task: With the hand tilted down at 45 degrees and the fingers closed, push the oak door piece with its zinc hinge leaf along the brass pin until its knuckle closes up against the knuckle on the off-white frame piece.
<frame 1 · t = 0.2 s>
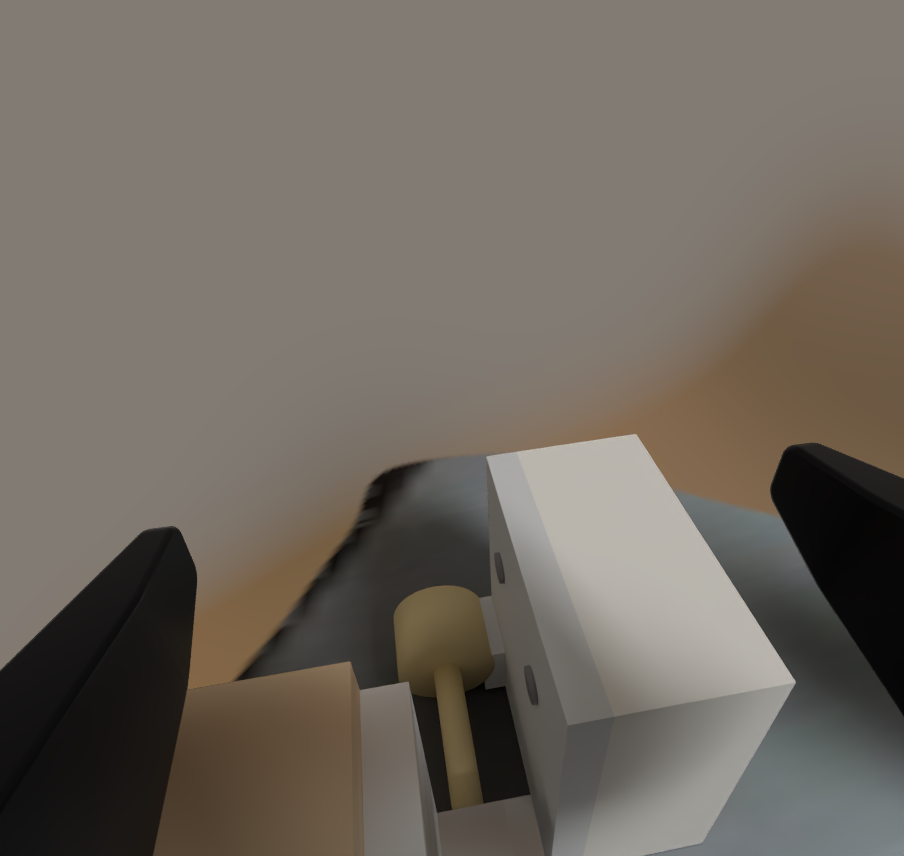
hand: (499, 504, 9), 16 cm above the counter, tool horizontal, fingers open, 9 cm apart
frame leaf: (474, 851, 19), on the counter
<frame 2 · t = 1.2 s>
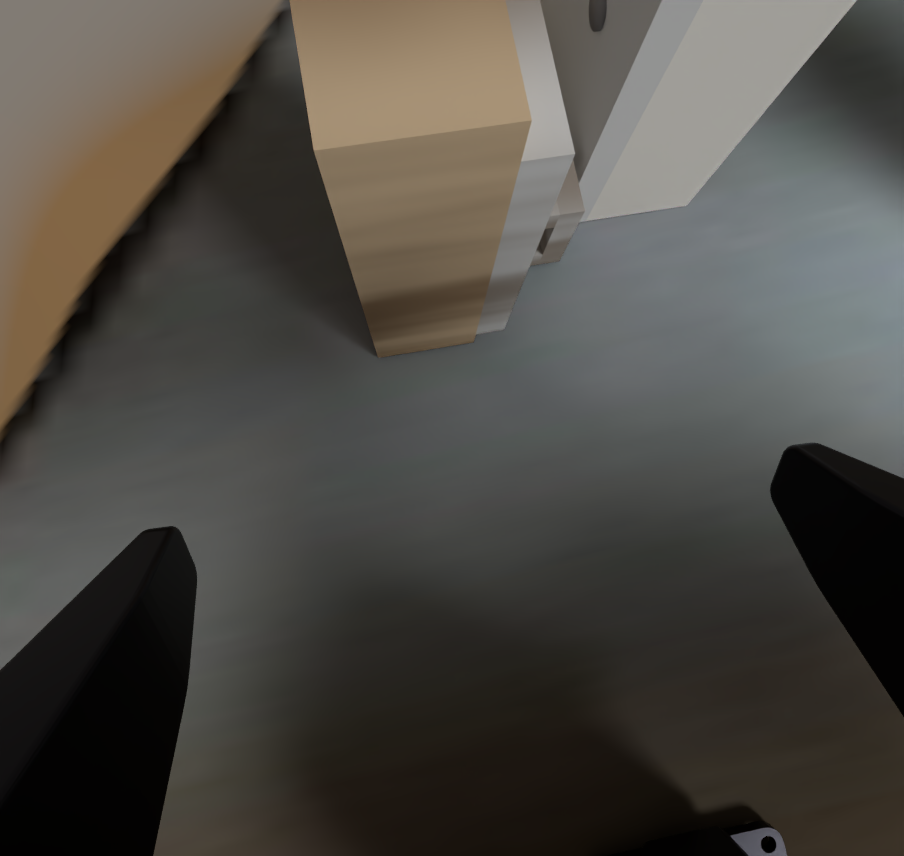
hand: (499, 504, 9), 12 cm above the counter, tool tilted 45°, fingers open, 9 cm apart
door leaf: (477, 186, 16), point 6 cm above the counter, slide at 0.0 cm
frame leaf: (498, 209, 22), on the counter
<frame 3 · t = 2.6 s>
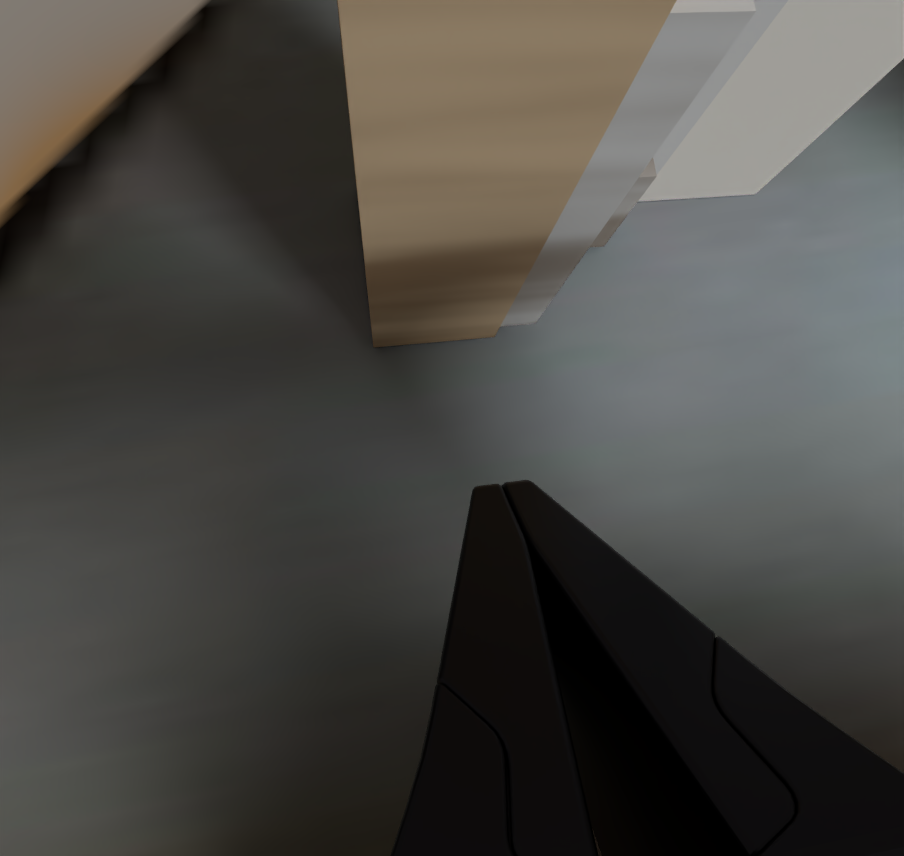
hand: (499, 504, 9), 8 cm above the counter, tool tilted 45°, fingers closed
door leaf: (535, 117, 11), point 6 cm above the counter, slide at 0.0 cm
frame leaf: (532, 177, 18), on the counter
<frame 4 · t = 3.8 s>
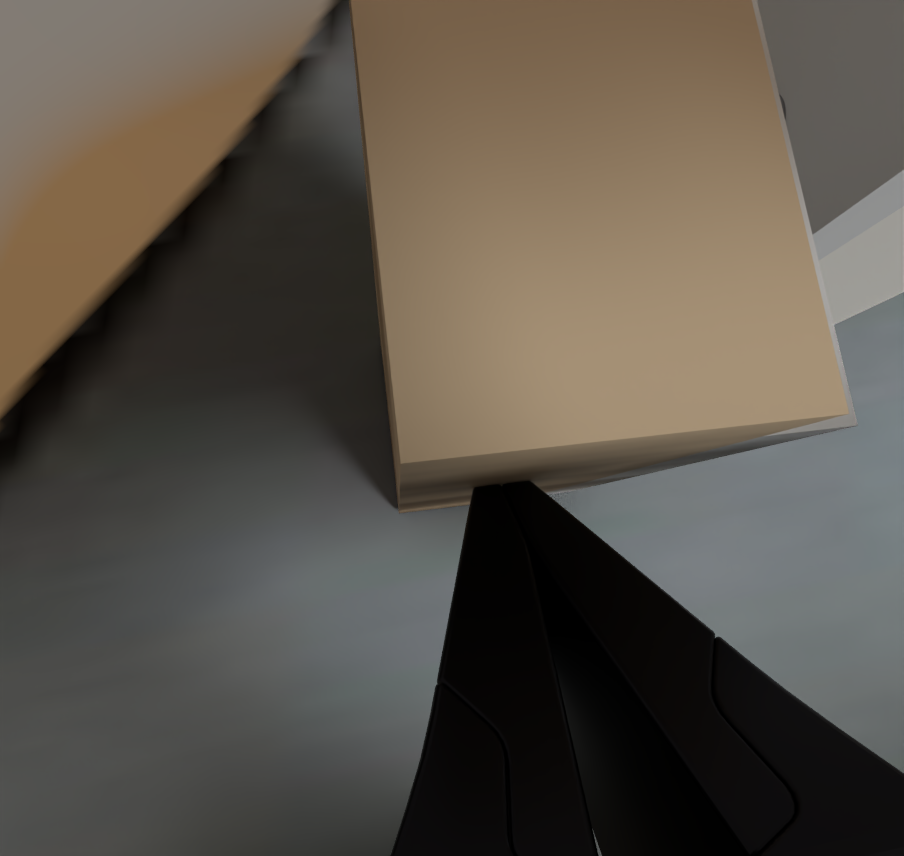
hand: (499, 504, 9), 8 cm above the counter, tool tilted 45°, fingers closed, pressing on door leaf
door leaf: (578, 345, 11), point 6 cm above the counter, slide at 0.3 cm, touching gripper
frame leaf: (563, 332, 17), on the counter
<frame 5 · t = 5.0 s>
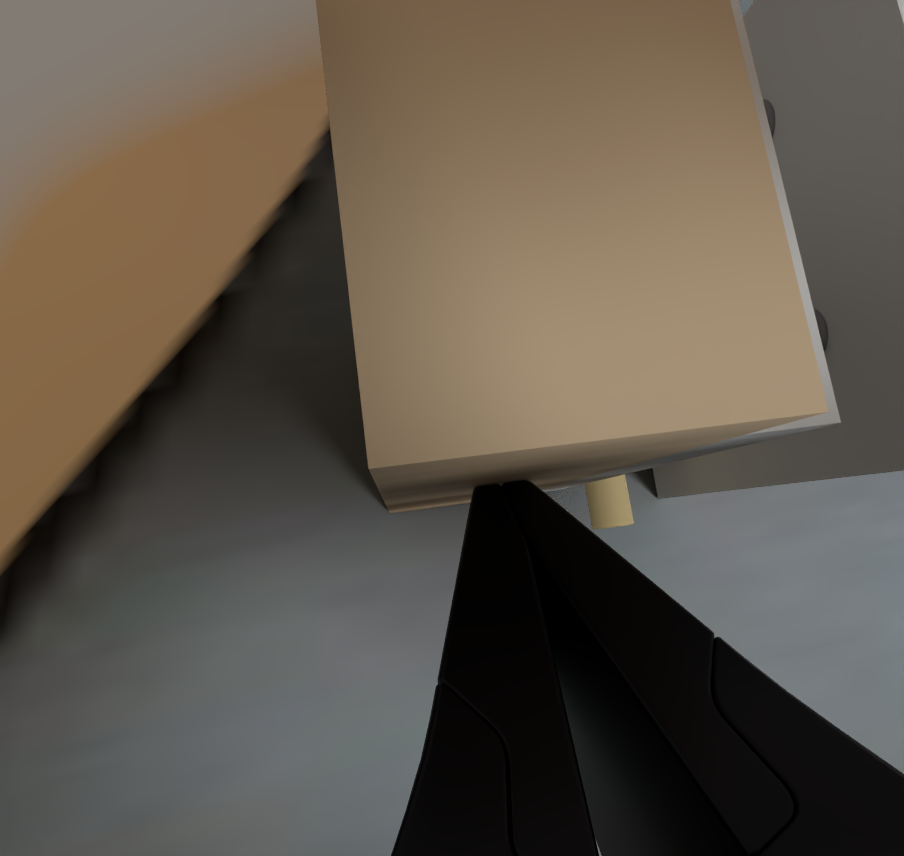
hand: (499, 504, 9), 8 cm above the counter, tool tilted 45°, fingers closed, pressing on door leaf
door leaf: (565, 342, 11), point 6 cm above the counter, slide at 4.6 cm, touching gripper
frame leaf: (578, 473, 17), on the counter
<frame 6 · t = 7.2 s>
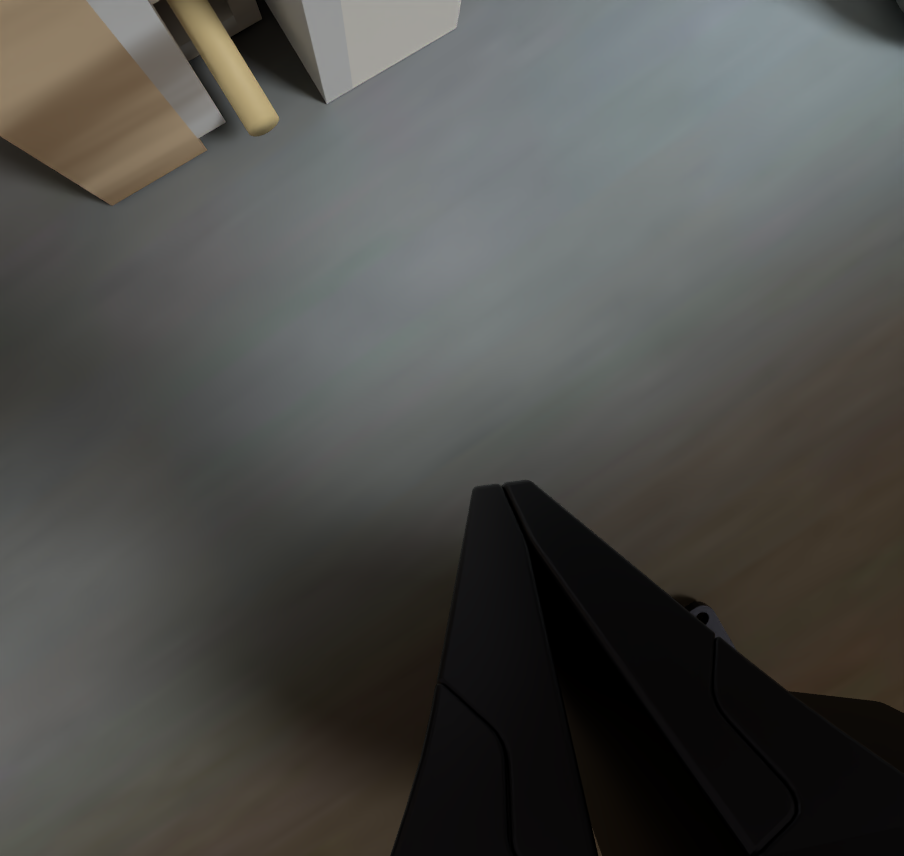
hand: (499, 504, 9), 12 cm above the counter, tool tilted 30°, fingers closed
frame leaf: (251, 110, 19), on the counter
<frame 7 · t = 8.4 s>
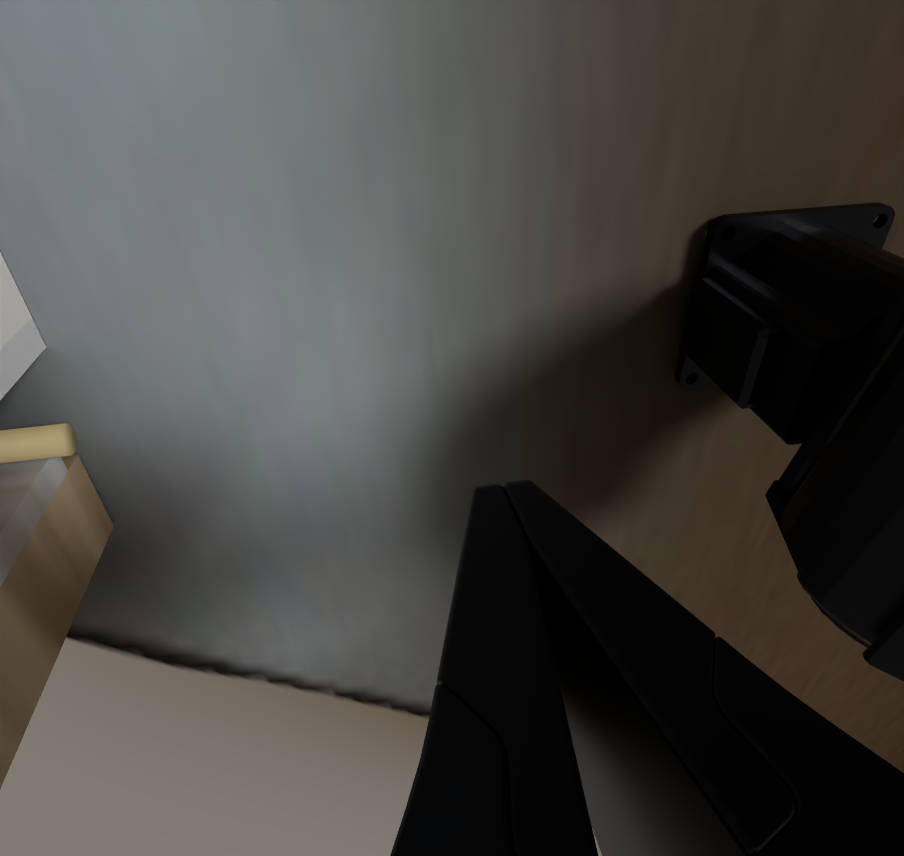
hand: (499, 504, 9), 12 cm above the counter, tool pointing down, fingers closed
frame leaf: (42, 409, 19), on the counter
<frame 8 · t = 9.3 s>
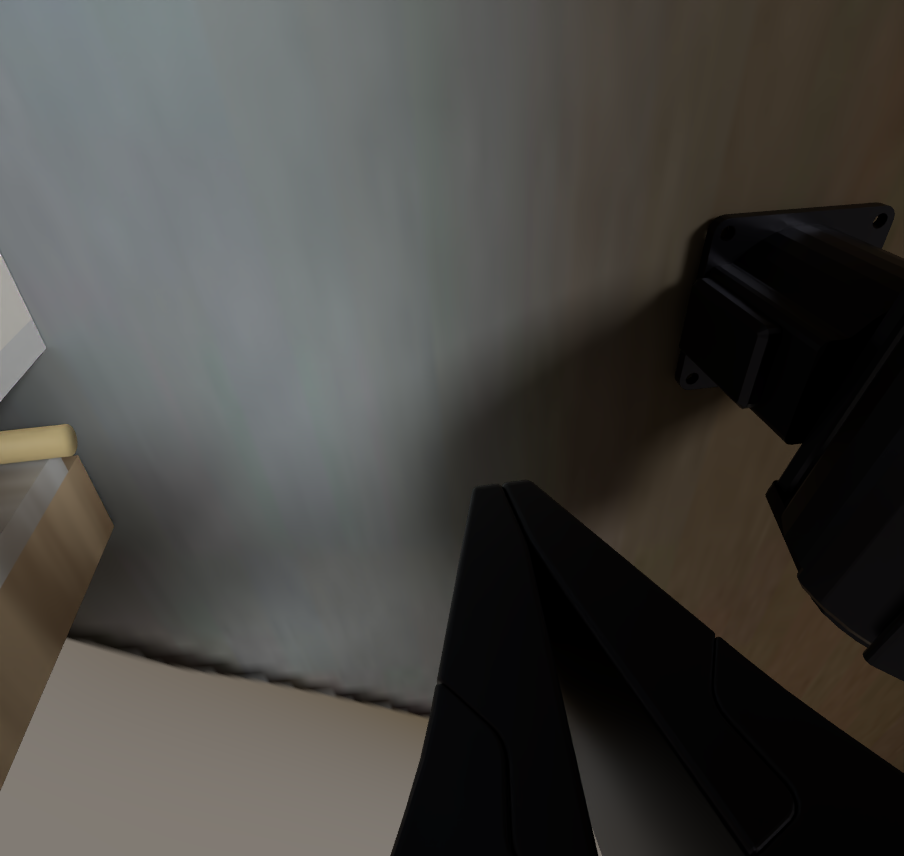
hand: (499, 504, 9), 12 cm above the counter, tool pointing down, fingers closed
frame leaf: (42, 410, 19), on the counter
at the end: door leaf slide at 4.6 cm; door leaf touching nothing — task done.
